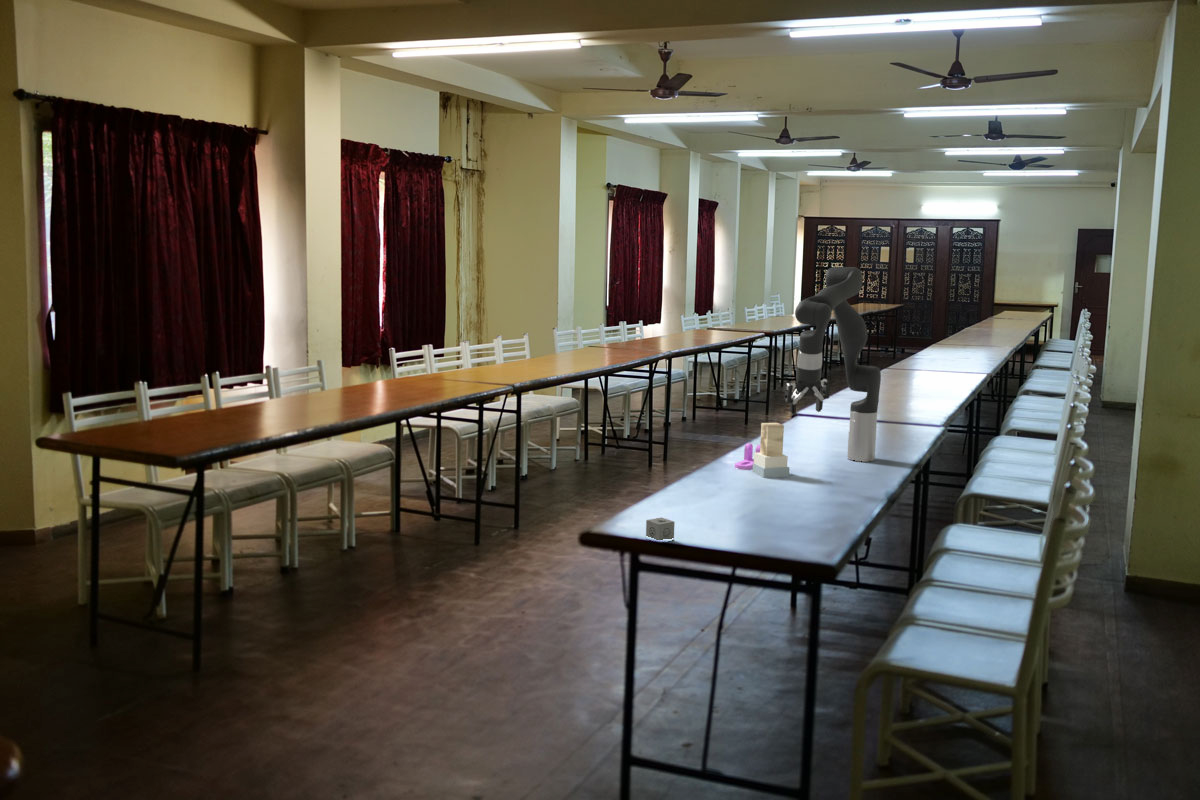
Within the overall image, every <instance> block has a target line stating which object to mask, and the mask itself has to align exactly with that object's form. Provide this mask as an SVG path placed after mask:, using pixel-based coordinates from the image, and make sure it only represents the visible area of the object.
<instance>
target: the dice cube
mask: <svg viewBox="0 0 1200 800" xmlns="http://www.w3.org/2000/svg"><path fill="white" fill-rule="evenodd" d="M645 522H646V523H645V525H646V526H645V537H646V536H648V537H651V538H654V539H656V540H663V539H672V538H674V539H675V521H673V520H670V519H668V518H665V517H656V518H651V519H646V521H645Z"/></svg>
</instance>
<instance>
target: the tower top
mask: <svg viewBox="0 0 1200 800" xmlns="http://www.w3.org/2000/svg"><path fill="white" fill-rule="evenodd" d="M788 457H789V456H787V455H786V454H783V455H782V456H765V455H763V454H761V453H756V452H753V459H754V464H757V465H759V466H761V467H763V468H777V467H788Z"/></svg>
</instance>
